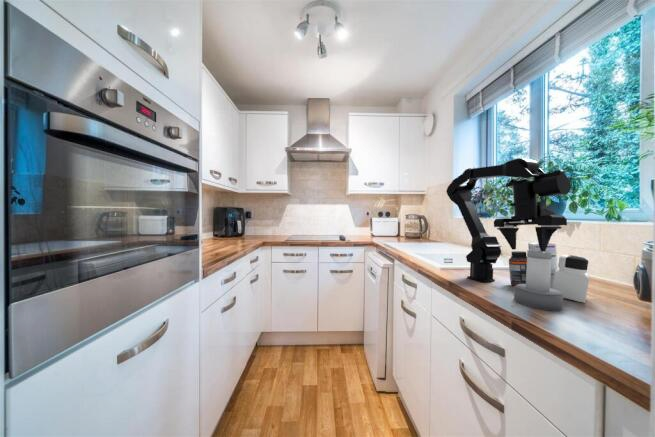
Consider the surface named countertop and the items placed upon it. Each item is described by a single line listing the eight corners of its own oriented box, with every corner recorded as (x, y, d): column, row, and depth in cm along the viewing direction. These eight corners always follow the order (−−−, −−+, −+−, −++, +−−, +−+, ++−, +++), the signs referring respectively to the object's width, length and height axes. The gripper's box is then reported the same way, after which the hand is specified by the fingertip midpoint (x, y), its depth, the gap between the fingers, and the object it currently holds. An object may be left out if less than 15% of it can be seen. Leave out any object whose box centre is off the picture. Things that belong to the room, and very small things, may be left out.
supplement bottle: (521, 283, 88) (518, 250, 89) (537, 287, 82) (535, 251, 83) (506, 284, 87) (503, 251, 88) (522, 288, 81) (519, 252, 82)
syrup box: (560, 291, 77) (557, 243, 78) (536, 290, 79) (533, 243, 80) (552, 286, 83) (549, 242, 83) (530, 286, 85) (527, 242, 85)
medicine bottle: (584, 297, 74) (591, 257, 74) (585, 303, 69) (592, 260, 68) (552, 290, 79) (558, 252, 79) (550, 295, 74) (556, 254, 73)
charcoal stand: (505, 299, 71) (506, 285, 71) (528, 295, 75) (529, 282, 75) (547, 312, 62) (548, 296, 62) (571, 308, 65) (572, 292, 65)
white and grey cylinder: (521, 286, 70) (523, 250, 69) (533, 285, 71) (534, 249, 71) (542, 292, 65) (544, 253, 65) (554, 290, 67) (556, 252, 67)
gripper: (581, 195, 71) (584, 252, 70) (518, 203, 89) (521, 248, 88) (548, 194, 69) (551, 252, 68) (491, 202, 87) (493, 248, 86)
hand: (527, 250), depth 77 cm, fingers open, 9 cm apart
